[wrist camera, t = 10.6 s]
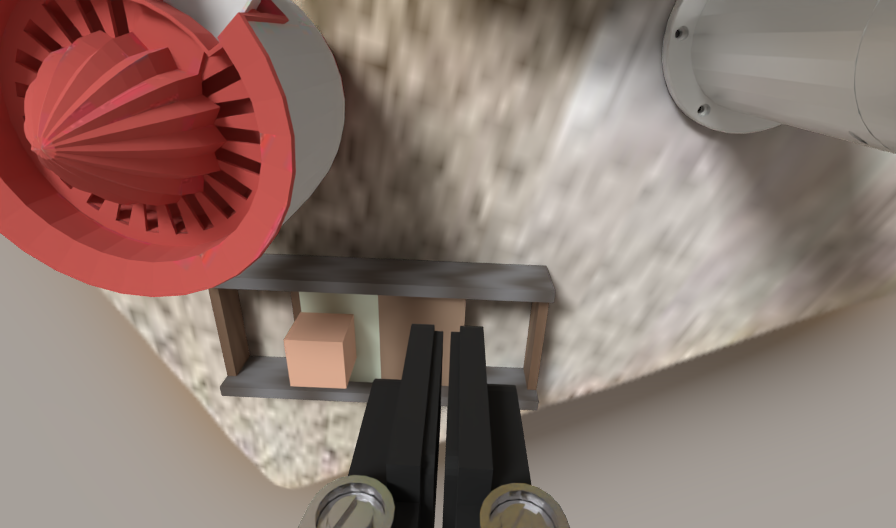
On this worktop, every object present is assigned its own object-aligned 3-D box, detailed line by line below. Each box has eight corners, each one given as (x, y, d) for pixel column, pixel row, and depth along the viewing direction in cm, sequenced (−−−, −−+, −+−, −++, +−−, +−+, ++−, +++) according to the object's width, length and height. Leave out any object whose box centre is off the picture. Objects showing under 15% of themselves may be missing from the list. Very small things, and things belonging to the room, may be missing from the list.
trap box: (546, 265, 40) (555, 291, 36) (530, 376, 45) (537, 410, 41) (221, 251, 40) (193, 275, 36) (243, 363, 45) (221, 395, 41)
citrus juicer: (423, 39, 32) (372, 39, 14) (309, 229, 39) (177, 393, 21) (212, -120, 29) (-204, -383, 11) (126, 118, 35) (-222, 201, 17)
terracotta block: (353, 314, 39) (342, 342, 35) (356, 357, 41) (346, 388, 37) (300, 312, 39) (283, 339, 35) (305, 355, 41) (290, 386, 37)
